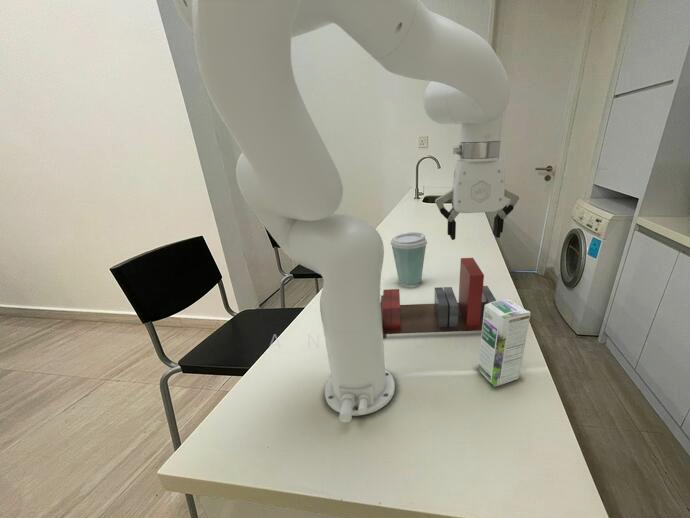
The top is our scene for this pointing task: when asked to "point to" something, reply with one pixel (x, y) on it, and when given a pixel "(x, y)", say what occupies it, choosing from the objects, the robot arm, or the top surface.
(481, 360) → the syrup box
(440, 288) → the book rack
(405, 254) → the disposable coffee cup
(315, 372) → the top surface
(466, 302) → the red book
